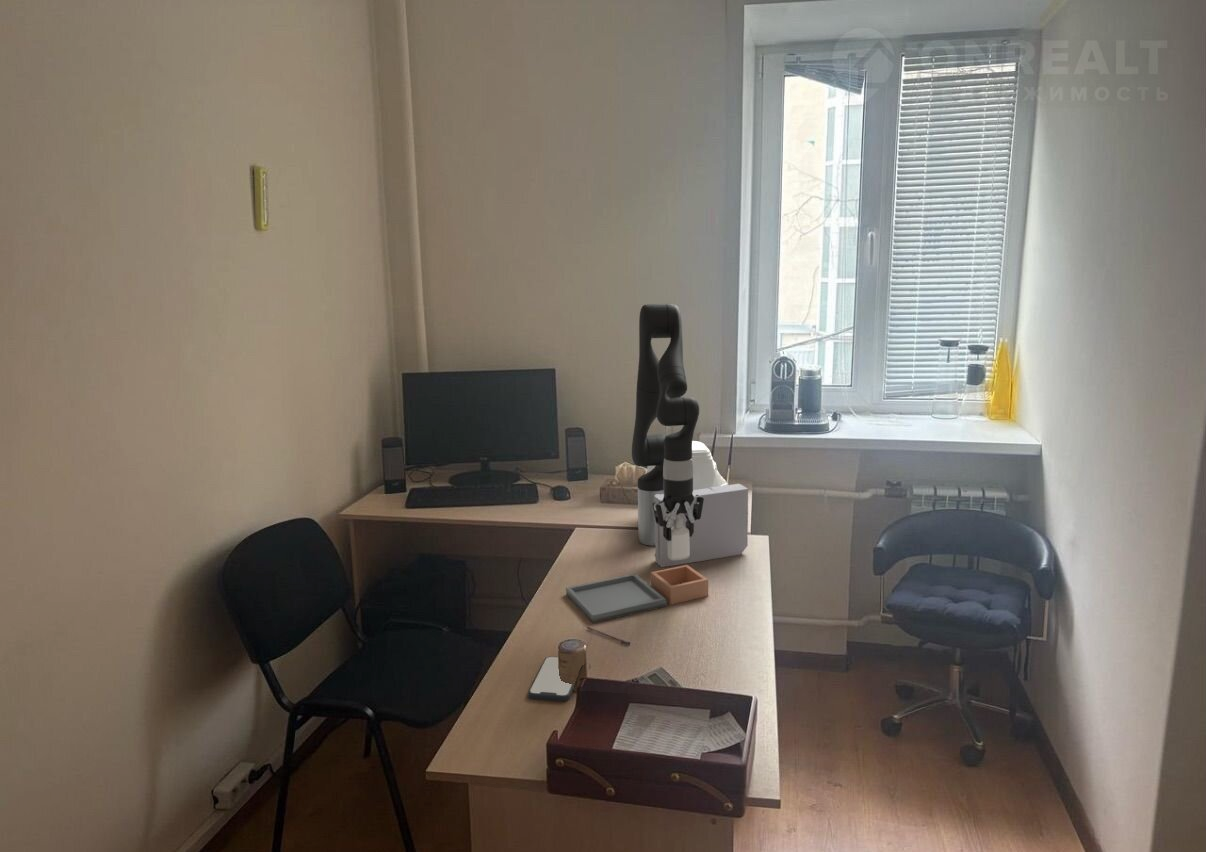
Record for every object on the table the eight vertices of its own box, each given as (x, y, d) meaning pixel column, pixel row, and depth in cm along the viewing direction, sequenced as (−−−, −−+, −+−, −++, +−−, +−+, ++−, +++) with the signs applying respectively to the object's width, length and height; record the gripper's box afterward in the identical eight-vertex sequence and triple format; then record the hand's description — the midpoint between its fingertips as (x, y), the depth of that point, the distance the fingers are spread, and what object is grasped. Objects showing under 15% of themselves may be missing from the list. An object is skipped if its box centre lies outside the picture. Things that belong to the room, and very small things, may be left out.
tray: (566, 594, 208) (566, 587, 208) (635, 580, 216) (634, 573, 215) (593, 623, 192) (592, 615, 191) (666, 606, 200) (666, 599, 199)
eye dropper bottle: (689, 561, 203) (689, 517, 200) (667, 560, 204) (666, 516, 201) (689, 554, 207) (689, 511, 205) (668, 554, 208) (667, 510, 205)
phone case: (545, 662, 176) (526, 700, 161) (545, 655, 176) (526, 693, 160) (584, 664, 174) (569, 704, 159) (584, 658, 174) (568, 697, 159)
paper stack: (648, 511, 271) (646, 438, 266) (727, 510, 269) (728, 437, 263) (646, 533, 251) (645, 454, 245) (733, 532, 249) (733, 453, 243)
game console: (653, 560, 229) (652, 494, 225) (738, 547, 237) (738, 483, 233) (660, 567, 224) (659, 500, 219) (747, 554, 232) (748, 488, 227)
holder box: (650, 588, 210) (650, 572, 209) (687, 580, 215) (687, 564, 214) (670, 604, 201) (670, 587, 200) (708, 595, 205) (708, 579, 204)
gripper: (695, 467, 207) (695, 528, 211) (646, 475, 201) (647, 537, 205) (710, 474, 200) (710, 537, 204) (659, 483, 194) (660, 547, 198)
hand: (678, 537), depth 204 cm, fingers closed on eye dropper bottle, 5 cm apart
